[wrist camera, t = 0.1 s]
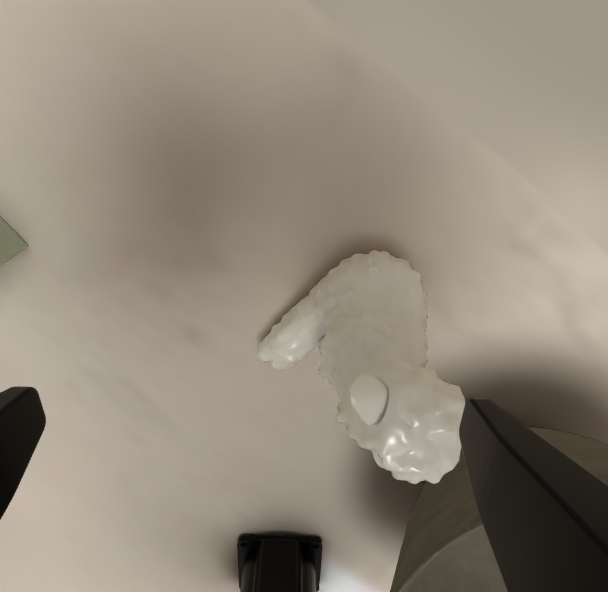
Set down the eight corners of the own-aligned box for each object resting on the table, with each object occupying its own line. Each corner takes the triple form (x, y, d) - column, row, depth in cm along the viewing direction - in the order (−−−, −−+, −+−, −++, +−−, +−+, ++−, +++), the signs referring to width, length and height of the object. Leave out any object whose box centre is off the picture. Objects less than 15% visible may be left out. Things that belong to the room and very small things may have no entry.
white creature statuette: (255, 348, 26) (221, 537, 15) (298, 213, 22) (292, 336, 11) (401, 386, 27) (465, 586, 16) (464, 265, 23) (601, 419, 13)
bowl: (539, 571, 35) (619, 736, 26) (324, 521, 33) (331, 687, 24) (701, 400, 28) (894, 554, 19) (436, 316, 25) (510, 448, 16)
